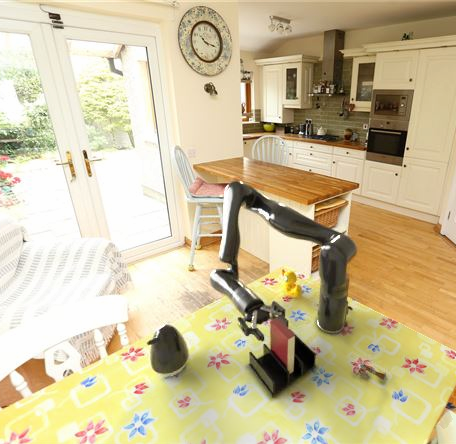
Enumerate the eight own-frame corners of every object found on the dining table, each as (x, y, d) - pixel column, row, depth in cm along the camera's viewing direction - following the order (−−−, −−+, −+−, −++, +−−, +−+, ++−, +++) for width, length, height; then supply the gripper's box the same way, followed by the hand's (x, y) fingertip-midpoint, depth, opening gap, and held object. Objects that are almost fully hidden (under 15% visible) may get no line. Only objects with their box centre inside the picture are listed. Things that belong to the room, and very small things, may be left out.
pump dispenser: (145, 372, 83) (134, 332, 77) (175, 347, 91) (167, 309, 85) (168, 390, 78) (159, 348, 72) (197, 362, 86) (191, 323, 80)
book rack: (290, 341, 94) (290, 328, 92) (315, 367, 85) (316, 353, 83) (248, 366, 85) (248, 352, 83) (272, 397, 76) (272, 383, 74)
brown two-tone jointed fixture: (352, 369, 84) (361, 360, 82) (377, 381, 84) (386, 372, 82) (353, 375, 82) (361, 365, 80) (378, 387, 82) (387, 377, 80)
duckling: (276, 289, 119) (276, 269, 115) (286, 284, 122) (287, 264, 118) (294, 304, 111) (295, 282, 107) (305, 298, 114) (306, 277, 110)
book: (277, 353, 88) (277, 317, 83) (294, 371, 83) (295, 334, 77) (270, 357, 87) (270, 321, 81) (286, 376, 81) (287, 339, 75)
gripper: (226, 301, 89) (254, 333, 78) (265, 285, 97) (295, 311, 86) (228, 320, 92) (255, 353, 81) (265, 302, 100) (294, 331, 89)
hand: (275, 332), depth 83 cm, fingers open, 8 cm apart
